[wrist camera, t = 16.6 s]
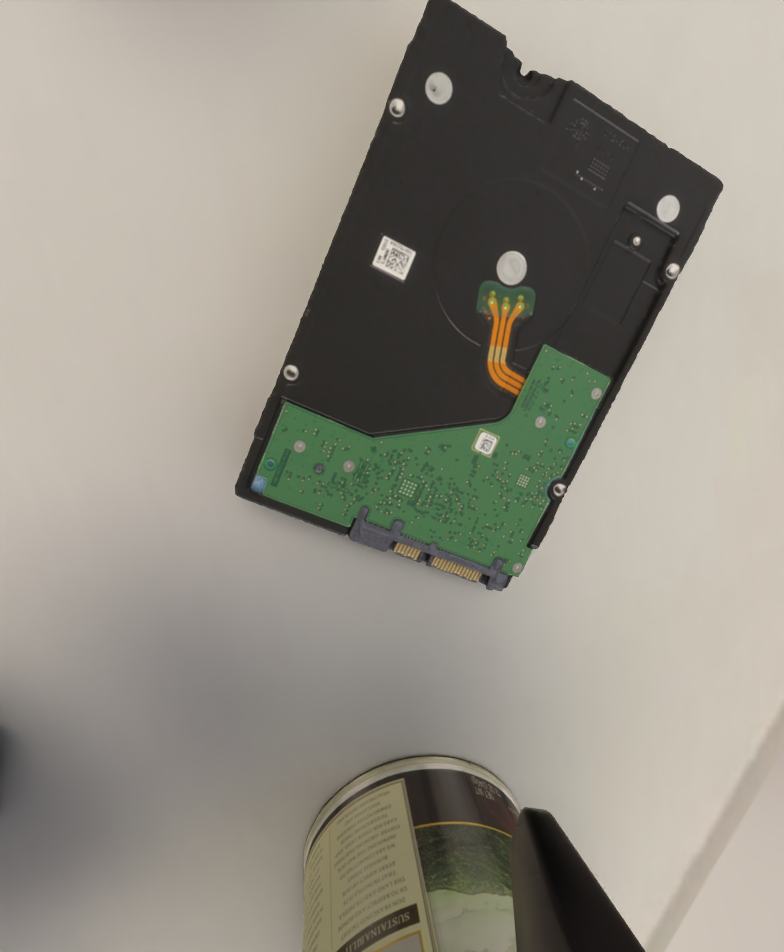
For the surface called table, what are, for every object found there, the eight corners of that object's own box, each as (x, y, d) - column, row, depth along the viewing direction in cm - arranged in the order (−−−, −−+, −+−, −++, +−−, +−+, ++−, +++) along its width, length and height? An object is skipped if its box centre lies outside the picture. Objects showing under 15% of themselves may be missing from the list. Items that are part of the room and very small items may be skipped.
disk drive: (407, 45, 16) (240, 479, 18) (426, -21, 13) (227, 501, 15) (669, 204, 18) (493, 571, 20) (733, 177, 15) (521, 604, 17)
